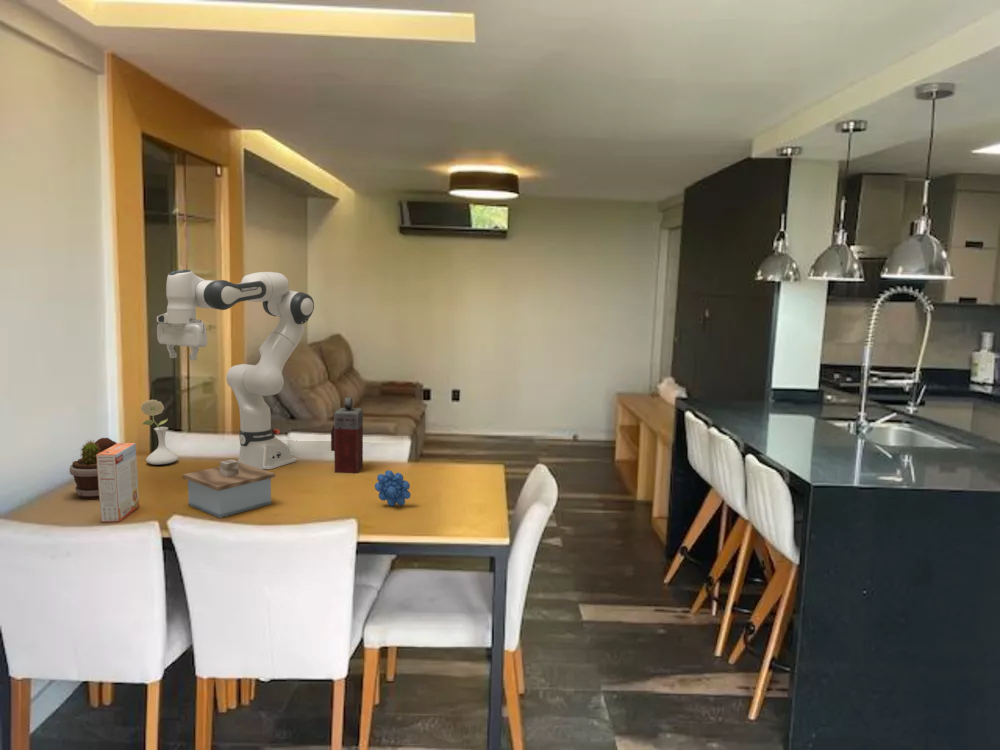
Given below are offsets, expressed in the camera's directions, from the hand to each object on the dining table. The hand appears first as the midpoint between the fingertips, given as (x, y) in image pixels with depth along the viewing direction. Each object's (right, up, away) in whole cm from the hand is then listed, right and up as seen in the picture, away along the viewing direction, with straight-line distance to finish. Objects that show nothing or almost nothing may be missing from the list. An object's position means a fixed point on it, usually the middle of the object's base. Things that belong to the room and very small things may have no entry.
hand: (183, 358), depth 239 cm
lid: (+21, -38, -14) cm, 46 cm away
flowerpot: (-26, -45, -6) cm, 52 cm away
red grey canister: (+49, -42, +31) cm, 71 cm away
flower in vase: (-24, -40, +33) cm, 57 cm away
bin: (+21, -47, -13) cm, 53 cm away
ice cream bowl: (-32, -43, +12) cm, 54 cm away
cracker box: (-8, -48, -25) cm, 55 cm away
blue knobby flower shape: (+73, -49, -11) cm, 88 cm away
